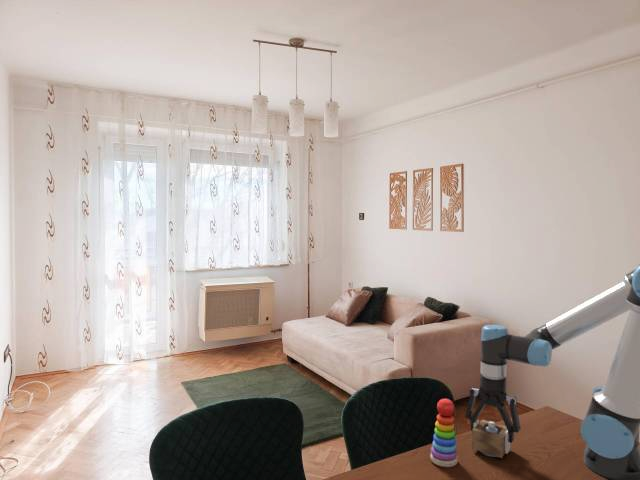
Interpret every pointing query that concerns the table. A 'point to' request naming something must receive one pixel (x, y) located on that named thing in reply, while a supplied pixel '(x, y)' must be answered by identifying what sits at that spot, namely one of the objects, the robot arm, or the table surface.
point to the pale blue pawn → (494, 430)
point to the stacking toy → (444, 436)
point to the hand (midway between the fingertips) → (491, 446)
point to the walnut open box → (489, 439)
